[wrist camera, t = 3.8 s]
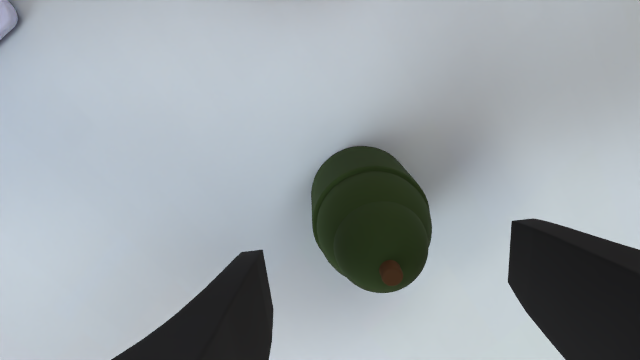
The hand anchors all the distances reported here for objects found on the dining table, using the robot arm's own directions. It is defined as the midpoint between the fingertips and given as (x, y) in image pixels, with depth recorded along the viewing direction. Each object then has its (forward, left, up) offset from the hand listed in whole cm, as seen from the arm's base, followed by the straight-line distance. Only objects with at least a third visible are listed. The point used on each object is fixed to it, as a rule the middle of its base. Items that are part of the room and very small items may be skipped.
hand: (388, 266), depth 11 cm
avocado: (0, 0, -6) cm, 6 cm away
